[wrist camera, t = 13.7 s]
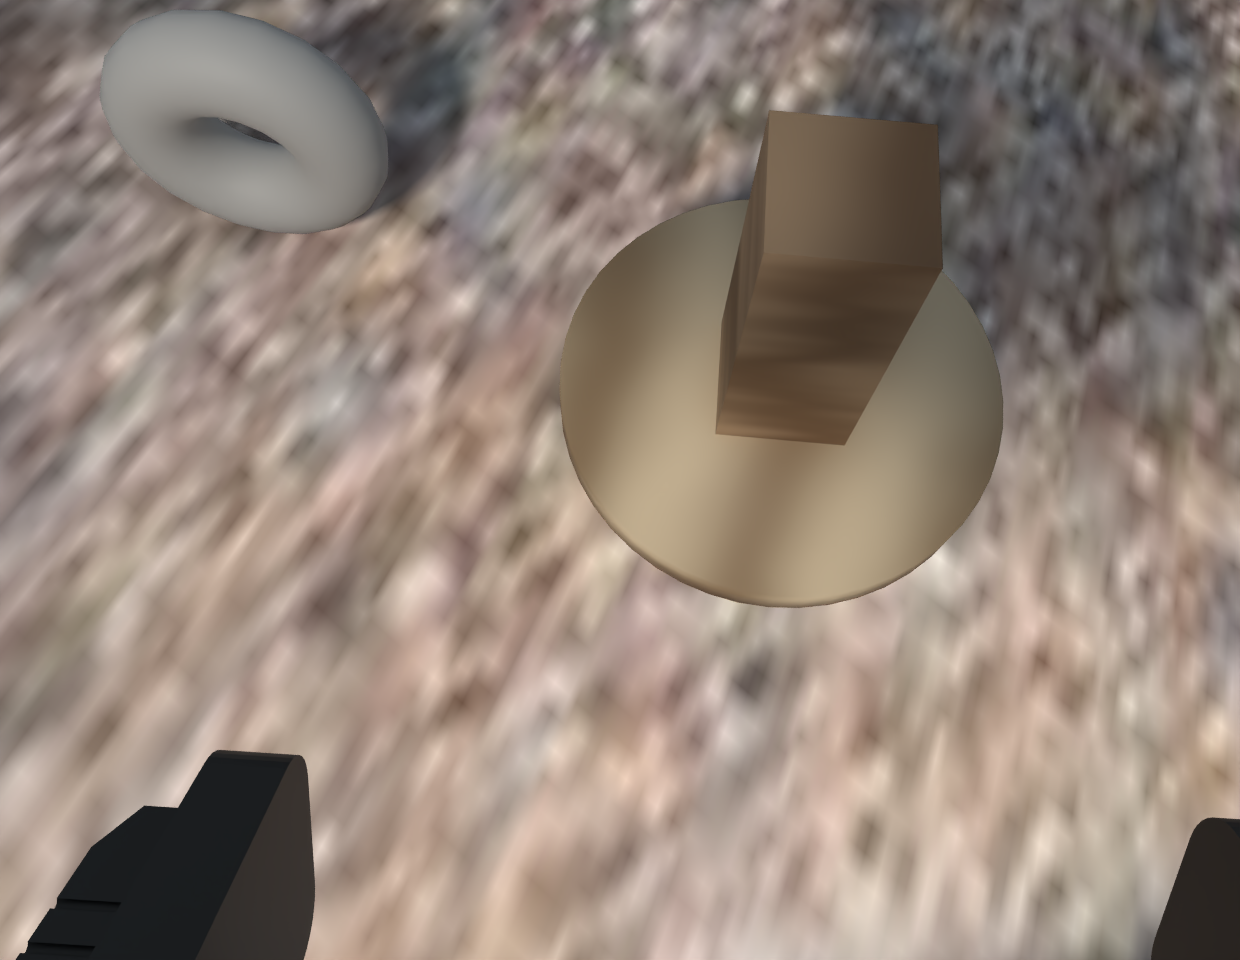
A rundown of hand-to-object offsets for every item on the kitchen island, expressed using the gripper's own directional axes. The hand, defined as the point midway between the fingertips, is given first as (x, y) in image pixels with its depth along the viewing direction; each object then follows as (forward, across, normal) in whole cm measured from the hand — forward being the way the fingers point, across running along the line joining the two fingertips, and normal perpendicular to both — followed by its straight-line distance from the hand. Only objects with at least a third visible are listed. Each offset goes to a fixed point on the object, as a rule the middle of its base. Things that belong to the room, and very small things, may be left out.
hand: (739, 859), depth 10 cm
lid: (+25, -4, +4) cm, 26 cm away
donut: (+36, +15, +1) cm, 39 cm away
